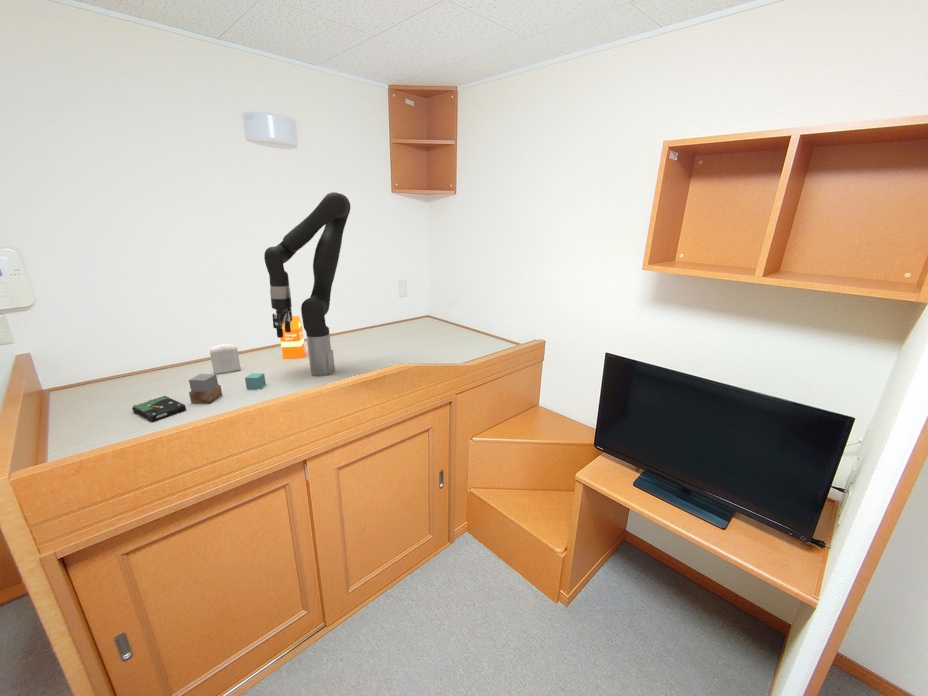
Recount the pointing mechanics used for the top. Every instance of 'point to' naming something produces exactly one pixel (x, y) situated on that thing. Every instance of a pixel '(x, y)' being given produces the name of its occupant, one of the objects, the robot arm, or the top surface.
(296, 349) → the orange juice
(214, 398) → the walnut base
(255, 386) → the teal block
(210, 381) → the slate block
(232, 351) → the photo printer
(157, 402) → the disk drive
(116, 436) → the top surface
